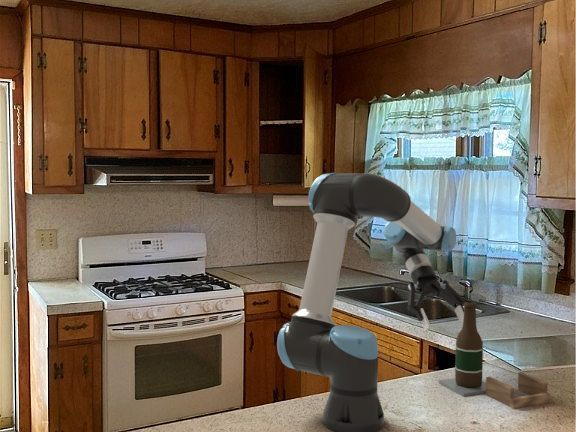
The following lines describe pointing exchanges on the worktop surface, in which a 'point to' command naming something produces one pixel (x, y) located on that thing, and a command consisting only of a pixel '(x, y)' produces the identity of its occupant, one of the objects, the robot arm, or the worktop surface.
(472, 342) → the beer bottle
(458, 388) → the coaster
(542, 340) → the worktop surface
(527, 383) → the cradle
